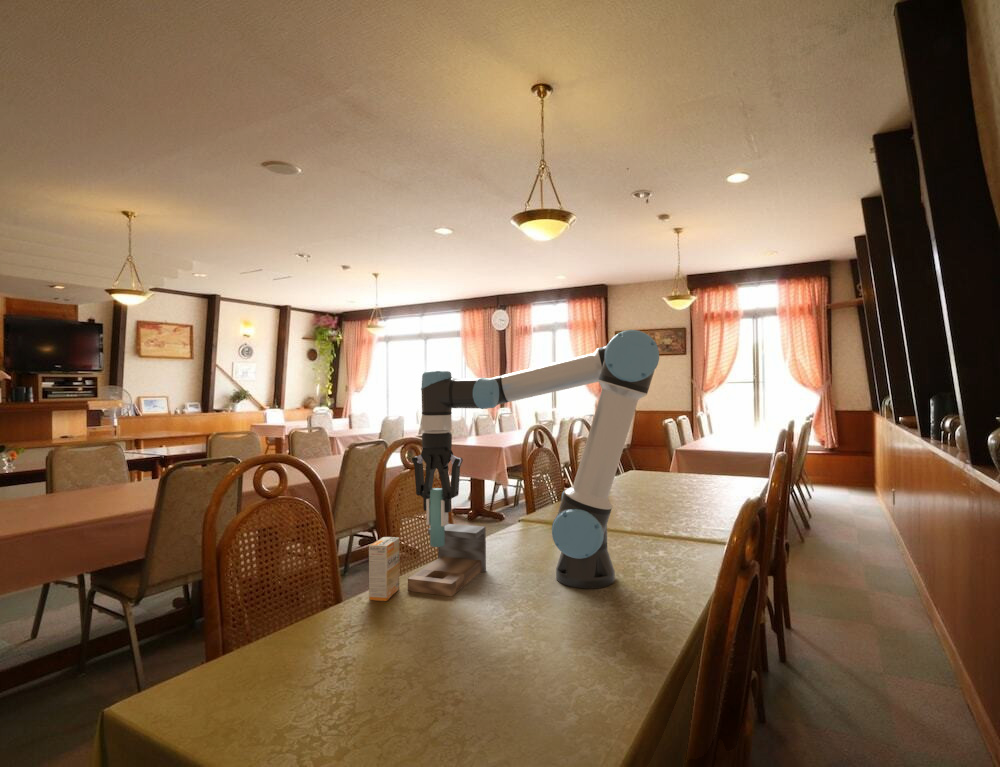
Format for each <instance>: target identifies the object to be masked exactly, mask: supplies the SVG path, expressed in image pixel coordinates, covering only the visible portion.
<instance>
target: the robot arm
mask: <svg viewBox="0 0 1000 767" xmlns="http://www.w3.org/2000/svg"><path fill="white" fill-rule="evenodd" d="M659 362H660V350H659V347H658V345H657V342H656V340H655V339H654V338H652V337H651V336H650V335H649V334H648V333H646V332H644V331H641V330H637V329H628V330H623V331H621V332H618V333H617V334H615V335H613V336H612V337H611V339H610V340H609V342H608V343H607V345H604V346H601V347H597V348H596V349H595V350H594V352H593V353H589V354H584V355H580V356H576V357H572V358H569V359H564V360H561V361H560V360H559V361H555V362H551V363H547V364H544V365H539V366H534V367H531V368H528V369H523V370H519V371H515V372H510V373H507V374H502V375H497V376H494V377H489V378H488V377H476V378H475V377H474V378H473V377H472V378H471V377H469V378H453V377H452V372H451V371H449V370H427V371H424V372H423V373H422V375H421V388H420V390H421V430H422V431H423V433H422V434H421V446H422V450H421V453H420V454H419V455H417V456H413V457H412V458H411V461H412V464H413V466H414V480H415V481H414V482H415V494H416V496H419V497H421V498H422V499H423V500H422V501H423V502H422V503H423V504H422V505H423V507H422V508H423V510H424V512H426V514H425V515H426V526H430V489H433V486H434V485H433V484H434V478H435V472H436V470H437V471H438V473H439V477H440V484H441V488H442V491H443V497H444V498H442V499H443V500H441V526H446V525H447V524H449V513H450V512H452V499H453V498H455V497H458V496H459V492H460V490H459V489H460V475H461V465H462V463H463V458H462V457H458V456H456V455H454V453H453V449H452V446H453V442H452V441H453V434H452V432H451V430H453V429H452V428H453V427H452V426H453V425H452V424H453V422H452V410H453V409H481V410H486V409H494V408H496V407H497V406H499V405H503V404H507V403H510V402H516V401H519V400H523V399H528V398H532V397H536V396H537V397H538V396H541V395H545V394H550V393H554V392H559V391H563V390H567V389H572V388H576V387H581V386H585V385H590V384H595V383H598V384H599V386H600V388H601V392H600V396H599V398H598V401H597V406H596V409H595V413H594V414H593V415H594V416H593V419H592V422H591V425H590V429H589V430H588V431H589V432H588V435H587V439H586V441H585V445H584V448H583V451H582V454H581V458H580V461H579V464H578V467H577V472H576V475H575V477H574V481H573V485H572V486H570V487H568V488H566V489H565V490H563V491H562V493H561V498H560V501H561V502H560V505H559V509H558V510H557V515H556V517H555V518H554V519H553V522H552V524H551V537H552V540H553V542H554V545H555V546H556V548H557V549H558V550H559V551H560V555H559V558H558V562H557V566H556V568H555V579H556V580H557V581H558V582H559V583H560V584H563V585H565V586H568V587H572V588H576V589H577V588H578V589H599V588H606V587H608V586H610V585H613V584H614V582H615V580H616V577H615V575H616V574H615V573H616V572H615V569H614V565H613V563H612V559H611V555H610V553H609V551H608V523H609V519H610V516H611V512H612V509H613V504H612V503H611V501H610V499H609V496H610V493H611V489H612V486H613V484H614V480H615V476H616V474H617V470H618V467H619V463H620V460H621V457H622V454H623V450H624V447H625V444H626V442H627V438H628V435H629V431H630V428H631V425H632V421H633V418H634V415H635V412H636V409H637V405H638V402H639V401H640V399H642V398H644V397H646V396H647V395H648V393H649V390H650V387H651V383H652V380H653V378H654V377H653V376H654V374H655V371H656V369H657V367H658V365H659ZM423 462H424V463H425V469H424V464H423ZM450 462H451V473H450V474H451V476H450V475H449V470H450V468H449V463H450ZM424 470H425V473H424ZM424 474H425V476H424Z"/></svg>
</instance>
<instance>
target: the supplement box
mask: <svg viewBox="0 0 1000 767" xmlns="http://www.w3.org/2000/svg"><path fill="white" fill-rule="evenodd" d="M368 570H369V571H368V589H369V590H368V591H369V592H368V596H369V597H368V600H370V601H376V602H377V601H378V602H379V601H380V602H387V601H388V600H389V599H390V598H391V597H392V596H393V595H395V593H396V592H398V591H399V590H400V537H397V536H396V537H395V536H393V537H392V536H383V537H380V538H379V539H378V540H375V541H374V542H373V543H371V544H369V545H368Z"/></svg>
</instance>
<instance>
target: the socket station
mask: <svg viewBox="0 0 1000 767" xmlns="http://www.w3.org/2000/svg"><path fill="white" fill-rule="evenodd" d="M486 530H487V529H486V526H482V525H481V526H480V525H470V524H469V525H467V524H457V523H456V524H454V523H448V524H447V525H446V526H445V545H444V546H441V547H437V551H438V552H437V553H438V554H437V556H438V557H437V559H435V560H433V561H432V562H430V563H429V564H428V565H426V566H424V567H423V568H421V569H420V570H419V571H417V572H415V573H414V574H412V575H410V576H409V577H408V578H407V591H408V592H413V593H416V592H417V593H422V594H429V595H431V594H432V595H438V596H446V597H454V595H455V594H456V593H458V592H459V591H460V590H461V589H462V588H464V587H465V586H466V585H467V584H469V582H471V581H472V580H473V579H474V578H475V577H476V576H478V575H479V574H480V573H482V572H483V573H484V572H486V571H487V549H486V548H487V543H486V542H487V540H486V538H487V534H486ZM427 535H430V527H429V528H428V529H427Z"/></svg>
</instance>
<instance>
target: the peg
mask: <svg viewBox="0 0 1000 767" xmlns="http://www.w3.org/2000/svg"><path fill="white" fill-rule="evenodd" d="M442 498H444V497H443V491H442V487H441V488H439V487H436V488H435V487H433V488H432V489H430V525H429V526H430V527H429V528H430V538H429V539H430V542H429V543H430V547H432V548H438V547H441V546H444V545H445V526H441V500H443V499H442Z"/></svg>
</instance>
